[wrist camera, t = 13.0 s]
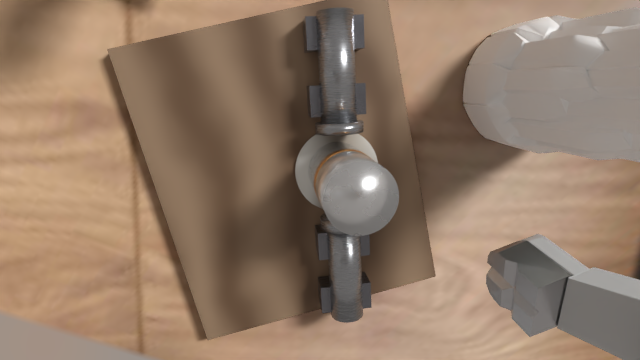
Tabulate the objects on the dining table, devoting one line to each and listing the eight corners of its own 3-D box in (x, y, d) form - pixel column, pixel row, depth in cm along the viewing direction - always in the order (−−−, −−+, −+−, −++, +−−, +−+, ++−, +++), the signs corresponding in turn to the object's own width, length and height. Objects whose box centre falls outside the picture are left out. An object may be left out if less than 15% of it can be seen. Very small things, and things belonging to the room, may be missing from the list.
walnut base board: (209, 332, 38) (207, 342, 37) (112, 50, 32) (105, 49, 31) (430, 270, 40) (436, 277, 39) (381, -10, 34) (386, -14, 32)
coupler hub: (315, 205, 35) (332, 244, 27) (302, 149, 34) (314, 171, 25) (371, 190, 36) (405, 225, 27) (359, 134, 35) (391, 152, 26)
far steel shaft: (313, 210, 36) (319, 226, 32) (362, 206, 36) (374, 221, 32) (319, 303, 38) (325, 328, 34) (365, 298, 38) (376, 322, 34)
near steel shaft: (360, 127, 35) (372, 133, 31) (309, 131, 34) (314, 137, 30) (357, 14, 33) (369, 5, 29) (302, 16, 32) (307, 7, 28)
